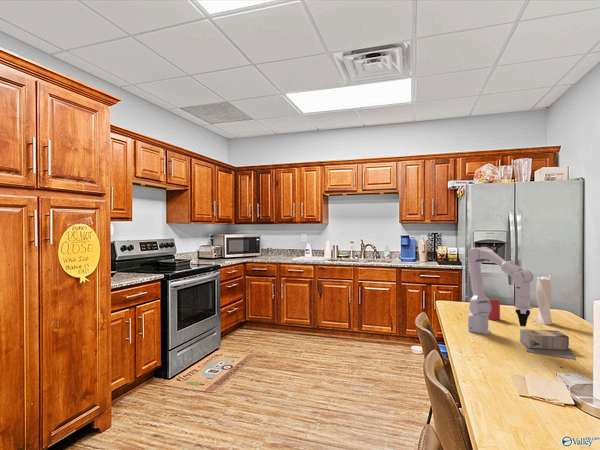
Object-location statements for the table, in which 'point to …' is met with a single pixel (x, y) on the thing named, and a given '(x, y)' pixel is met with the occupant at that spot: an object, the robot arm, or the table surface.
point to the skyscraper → (544, 300)
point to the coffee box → (544, 339)
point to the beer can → (494, 309)
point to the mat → (553, 352)
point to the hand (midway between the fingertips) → (522, 326)
